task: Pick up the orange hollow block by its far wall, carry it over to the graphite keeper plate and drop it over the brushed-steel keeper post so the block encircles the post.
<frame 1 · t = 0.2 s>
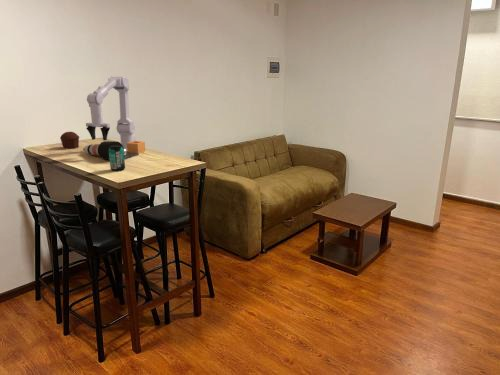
hand: (99, 139, 223), 10 cm above the table, tool pointing down, fingers open, 7 cm apart
muffin: (71, 148, 252), on the table
orange hollow block: (136, 152, 239), on the table
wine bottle: (100, 157, 228), on the table, touching keeper
beverage can: (118, 170, 198), on the table
keeper: (123, 156, 227), on the table
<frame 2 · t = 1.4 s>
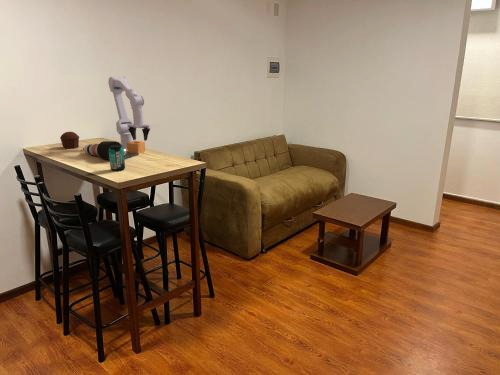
hand: (140, 140, 236), 8 cm above the table, tool pointing down, fingers open, 7 cm apart
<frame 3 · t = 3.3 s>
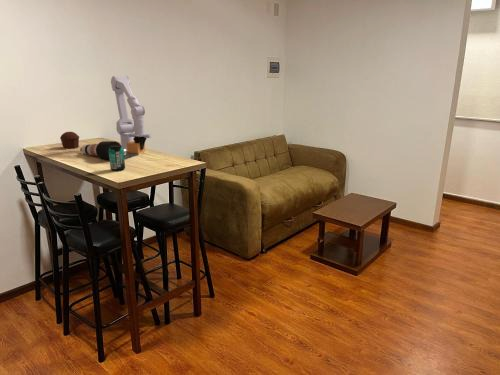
hand: (140, 149, 238), 2 cm above the table, tool pointing down, fingers closed on orange hollow block
orange hollow block: (136, 152, 239), on the table, touching gripper
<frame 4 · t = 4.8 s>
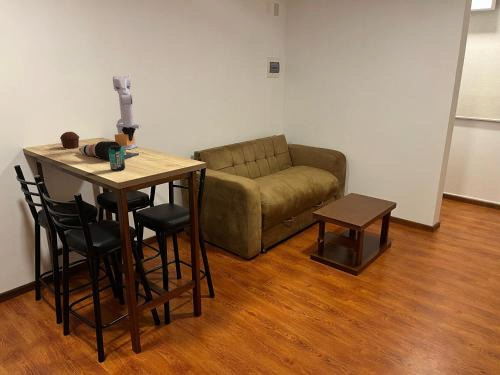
hand: (129, 140, 226), 9 cm above the table, tool pointing down, fingers closed on orange hollow block
orange hollow block: (125, 144, 227), point 7 cm above the table, touching gripper
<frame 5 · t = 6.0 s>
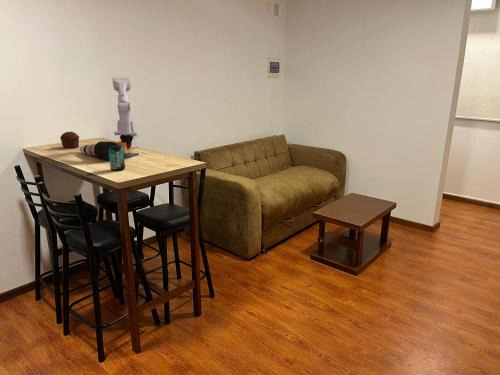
hand: (127, 148, 225), 5 cm above the table, tool pointing down, fingers closed on orange hollow block
orange hollow block: (123, 152, 226), point 3 cm above the table, touching gripper
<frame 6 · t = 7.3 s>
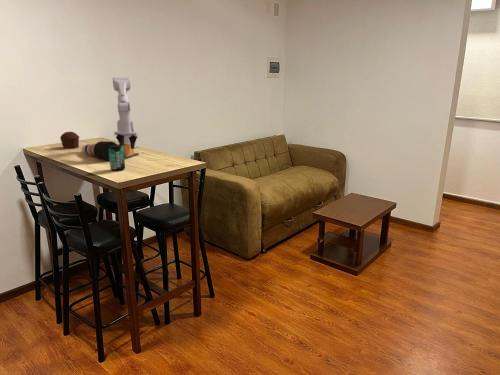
hand: (127, 148, 225), 5 cm above the table, tool pointing down, fingers open, 6 cm apart
orange hollow block: (124, 154, 227), point 1 cm above the table, touching keeper
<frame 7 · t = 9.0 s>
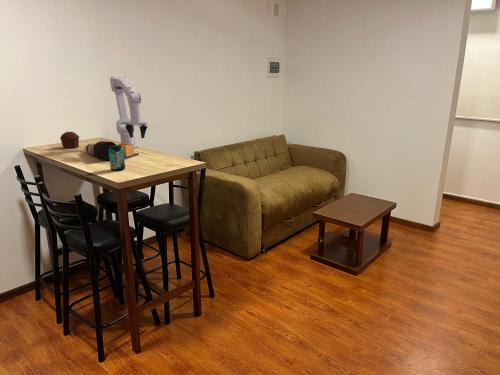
hand: (137, 137, 233), 9 cm above the table, tool pointing down, fingers open, 7 cm apart
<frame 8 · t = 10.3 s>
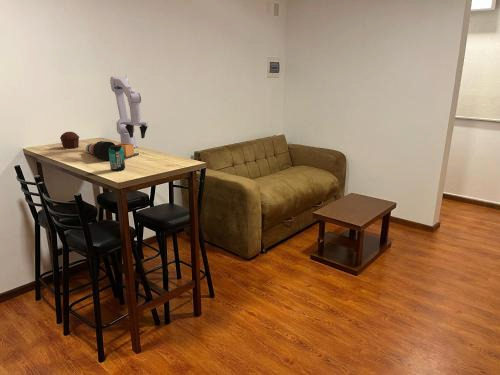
hand: (137, 137, 233), 9 cm above the table, tool pointing down, fingers open, 7 cm apart
at the end: orange hollow block 0.9 cm from the keeper (horizontally); orange hollow block point 1.0 cm above the table; the gripper is holding nothing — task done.
